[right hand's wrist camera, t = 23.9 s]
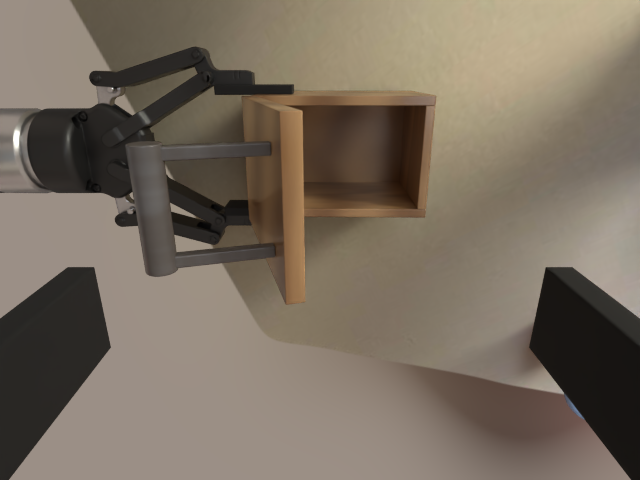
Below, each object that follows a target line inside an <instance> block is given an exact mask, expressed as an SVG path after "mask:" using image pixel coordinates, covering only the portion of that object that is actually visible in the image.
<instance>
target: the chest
mask: <svg viewBox="0 0 640 480" xmlns="http://www.w3.org/2000/svg"><path fill="white" fill-rule="evenodd" d="M251 96H257V97H260V98H263V99H266V100H269V101H273V102H276V103H279V104H282V105H285V106H289V107H292V108H295V109H298V110H301V111H302V115H303V182H304V217H425V212H426V202H427V191H428V180H429V169H430V158H431V148H432V137H433V126H434V115H435V104H436V96H434V95H429V94H424V93H419V92H414V91H294V93H293V94H255V95H251Z"/></svg>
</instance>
